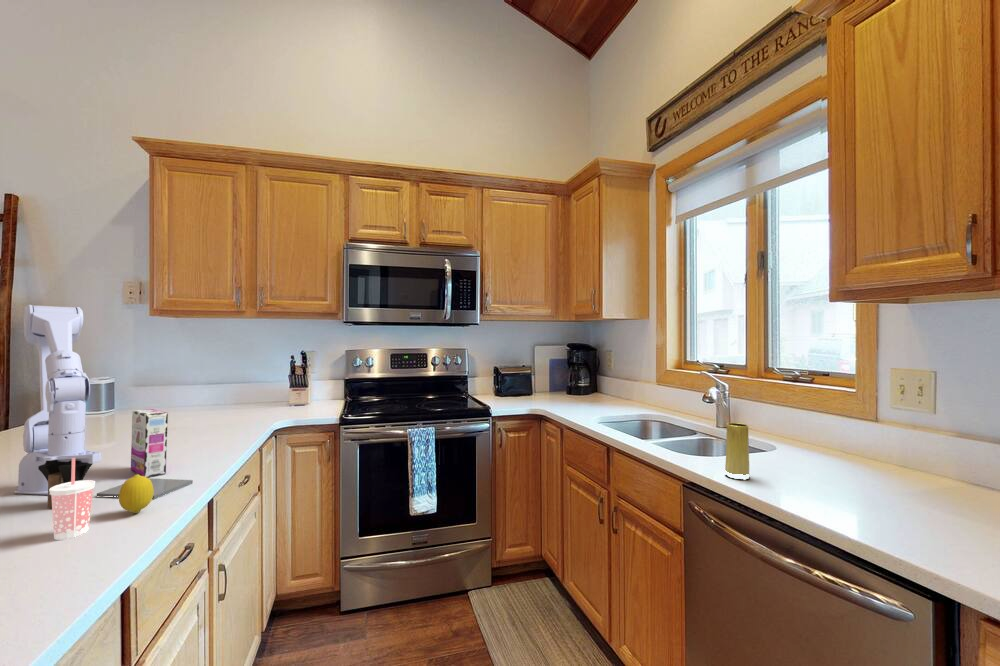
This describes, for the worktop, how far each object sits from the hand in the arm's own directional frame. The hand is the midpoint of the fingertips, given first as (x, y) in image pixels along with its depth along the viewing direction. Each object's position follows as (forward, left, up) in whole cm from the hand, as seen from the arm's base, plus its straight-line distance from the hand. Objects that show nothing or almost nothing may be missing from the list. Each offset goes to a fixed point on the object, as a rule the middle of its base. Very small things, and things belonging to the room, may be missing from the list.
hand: (65, 495), depth 95 cm
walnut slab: (0, 0, -2) cm, 2 cm away
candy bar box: (-2, +22, -2) cm, 23 cm away
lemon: (+19, -3, -2) cm, 20 cm away
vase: (+156, +37, -2) cm, 161 cm away
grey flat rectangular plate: (+9, +10, -2) cm, 14 cm away
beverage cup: (+16, -13, -2) cm, 21 cm away
